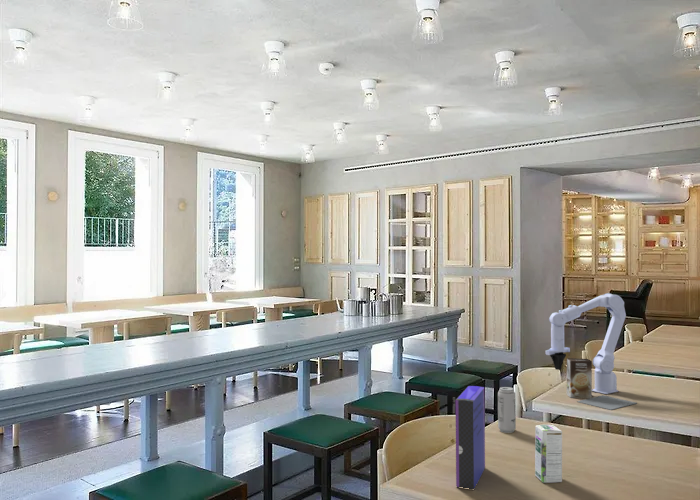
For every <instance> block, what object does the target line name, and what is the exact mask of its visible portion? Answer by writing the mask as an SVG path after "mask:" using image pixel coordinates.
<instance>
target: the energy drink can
mask: <svg viewBox="0 0 700 500" xmlns="http://www.w3.org/2000/svg"><path fill="white" fill-rule="evenodd" d="M516 415H517V414H516V392H515V390H514V387H510V386H501V387H499V390H498V392H497V425H498V426H497V428H498V429H499V431H500V432H501V433H504V434H512V433H514V432H515V430H516V428H517V427H516V426H517V425H516V422H517V421H516Z"/></svg>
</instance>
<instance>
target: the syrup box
mask: <svg viewBox="0 0 700 500" xmlns="http://www.w3.org/2000/svg"><path fill="white" fill-rule="evenodd" d="M534 435H535V438H534V439H535V442H534V443H535V444H534V445H535V446H534V447H535V449H534V451H535V452H534V454H535V455H534V456H535V457H534V463H535V464H534V471H535V472H534V475H535V477H537V479H538V480H540V481H541V483H543V484H548V483H550V484H551V483H563V430H561V429H560V428H558V427H557V426H555V425H554V424H538V425H535V434H534Z"/></svg>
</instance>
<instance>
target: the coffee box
mask: <svg viewBox="0 0 700 500" xmlns="http://www.w3.org/2000/svg"><path fill="white" fill-rule="evenodd" d="M592 367H593V360H590V359H589V358H572V357H571V358H566V395H567V396H568V397H569V398H571V399H572V398H573V399H576V398H577V399H589V398H593V397H592V396H593V395H592V392H593V391H592V389H593V388H592V387H593V385H592V384H593V383H592V379H593V378H592V375H593V373H592V372H593V369H592Z"/></svg>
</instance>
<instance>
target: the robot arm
mask: <svg viewBox="0 0 700 500" xmlns="http://www.w3.org/2000/svg"><path fill="white" fill-rule="evenodd" d="M598 307H601V308H606V309H607V310H608V312H609V313H610V315H611V319H610V321H609V325H608V327H607V331H606V334H605V336H604V340H603V343H602V345H601V349H599V350H598V351H597V354H596V355H595V357H593V359H592V366H594V367H595V368H594V388H592V392H595V393H599V394H602V395H603V394H604V395H609V394H613V393H617V392H619V390H618V389H617V388H618V387H617V385H618V383H617V374H616V373H615V372H614V371H613V370H614V369H615V364H614V361H615V353H614V352H615V350H616V347H617V344H618V340H619V338H620V335H621V332H622V328H623V326H624V322H625V320H626V318H627V317H626V316H627V314H626V309H625V301H624V300H623V298H622V297H621V296H620V295H618V294H614V293H613V294H612V293H610V292H608V293H604V294H601V295H599V296H598V295H597V296H596V297H594V298H592V299H590V300H588V301H586V302H583V303H581V304H580V305H578V306H577V305H574V304H573V305H572V304H570V305H568V307H566V308H564V309H560V310H559V309H558V312H557V311H556V312H552V313H551V314H550V316H549V318H548V321H549V323H550V348H549V349H547V350H546V349H545V355H546V356H550V358H551V360H552V362H553V365H554V366H553V367H554V369H555V370H558V371H561V370H562V366H563V363H564V361H565V358H566V357H567V353H571V347H566V346H565V325H566V323H568V322H570V321H573V320H575V319H578V318H580V317H581V315H582V313H585V312H587V311H590V310H593V309H595V308H598Z"/></svg>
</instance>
